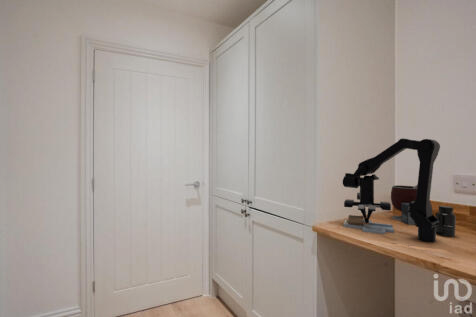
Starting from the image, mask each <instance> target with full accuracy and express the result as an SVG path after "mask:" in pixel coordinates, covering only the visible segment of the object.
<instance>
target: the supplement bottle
mask: <svg viewBox="0 0 476 317" xmlns="http://www.w3.org/2000/svg"><path fill="white" fill-rule="evenodd" d="M453 212H454V207H453V206H448V205H439V206H438V211H437V212H436V213H435V217H436V218H437V219H438V220H439V224H438V225H437V226H435V227H436V235H437V236H440V237H441V236H442V237H445V238H446V237H448V238H449V237H451V238H452V237H455V236H456V222H457V221H456V220H457V216H456V215H455V213H453Z"/></svg>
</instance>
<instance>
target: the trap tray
mask: <svg viewBox="0 0 476 317" xmlns="http://www.w3.org/2000/svg"><path fill="white" fill-rule="evenodd" d="M364 223H365V224H364ZM342 226H343V227H344V228H351V229H352V228H353V229H360V230H362V233H370V234H379V235H386V233H392V234H394V233H395V229H394V228H393V226H394V225H393V224H387V223H379V222H378V223H377V222H372V220H370V219H369V221H368V224H366V222H365V219H363V226H357V225H349V224H348V219H345V220H344V222H343V224H342Z"/></svg>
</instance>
